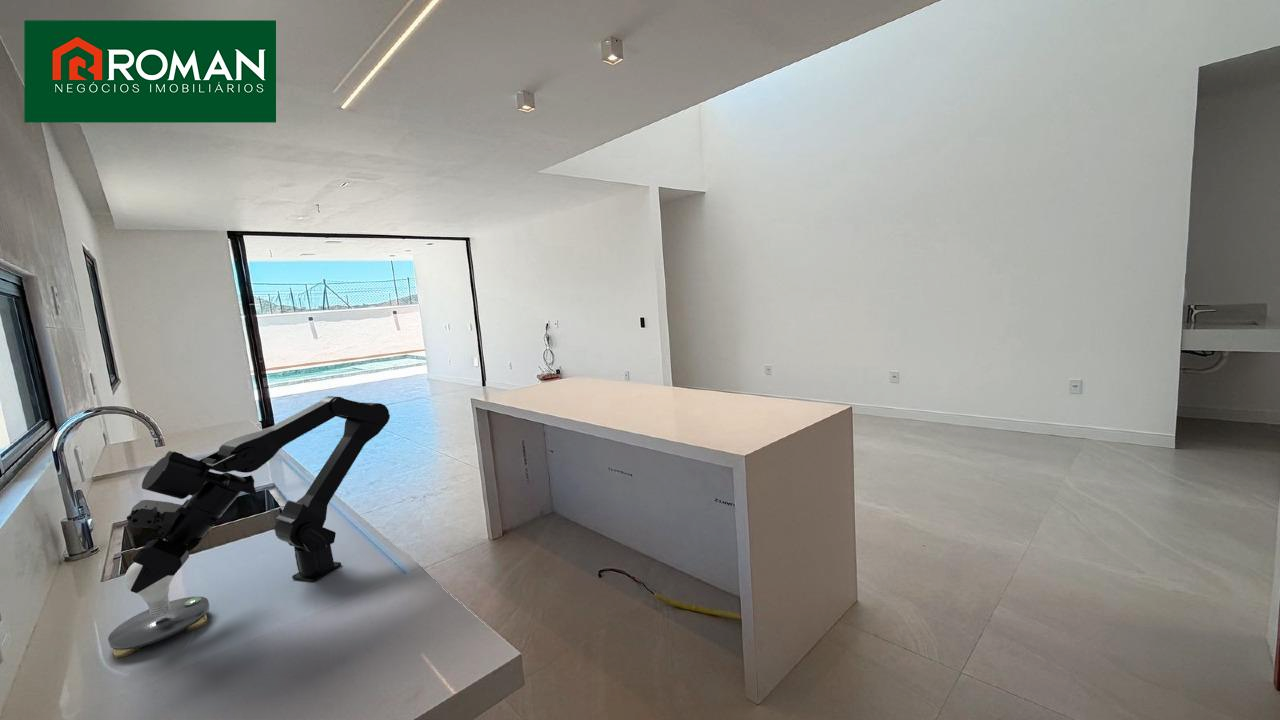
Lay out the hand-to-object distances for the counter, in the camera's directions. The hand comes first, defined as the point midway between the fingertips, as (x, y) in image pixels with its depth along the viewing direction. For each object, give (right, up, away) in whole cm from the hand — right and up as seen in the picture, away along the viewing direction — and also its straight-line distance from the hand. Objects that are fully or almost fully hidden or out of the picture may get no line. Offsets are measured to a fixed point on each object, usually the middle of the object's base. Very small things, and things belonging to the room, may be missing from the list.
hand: (142, 582), depth 88 cm
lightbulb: (+2, -6, +2) cm, 7 cm away
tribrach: (+2, -9, +2) cm, 10 cm away
